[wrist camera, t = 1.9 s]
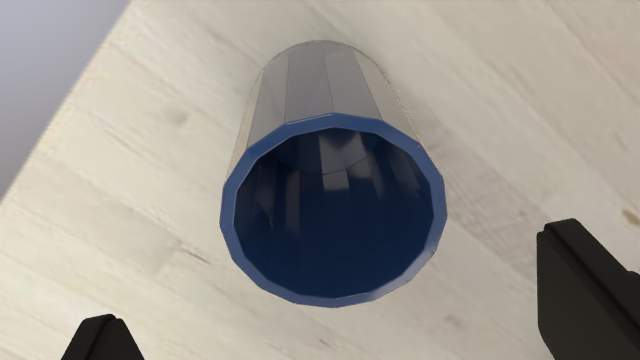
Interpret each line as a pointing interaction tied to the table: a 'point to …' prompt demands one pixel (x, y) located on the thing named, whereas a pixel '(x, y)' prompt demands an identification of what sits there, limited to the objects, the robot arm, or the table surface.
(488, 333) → the table surface
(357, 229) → the cup
